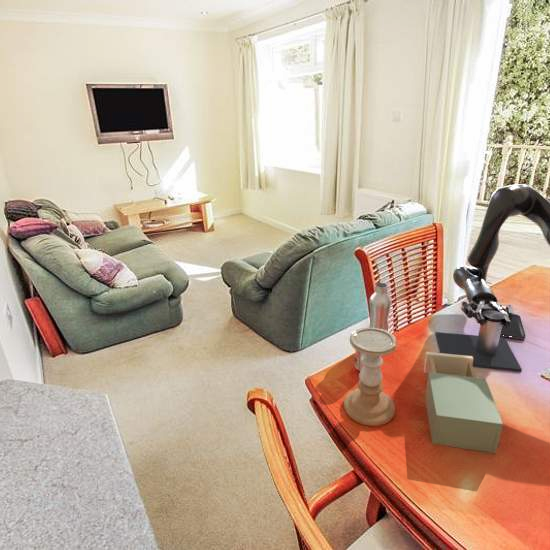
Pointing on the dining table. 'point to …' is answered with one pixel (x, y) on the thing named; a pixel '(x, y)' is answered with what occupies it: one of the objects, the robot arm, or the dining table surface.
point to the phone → (514, 329)
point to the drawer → (449, 364)
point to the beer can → (358, 360)
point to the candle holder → (371, 378)
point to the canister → (489, 332)
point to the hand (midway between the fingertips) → (494, 323)
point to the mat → (467, 347)
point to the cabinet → (462, 412)
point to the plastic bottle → (380, 307)
